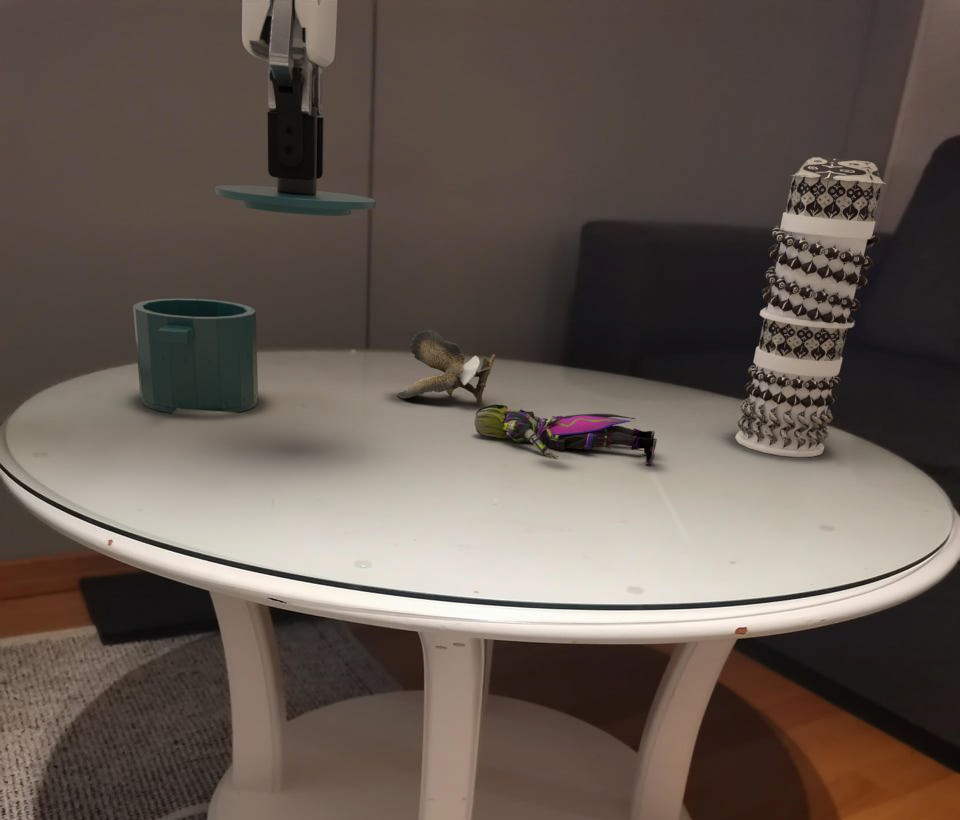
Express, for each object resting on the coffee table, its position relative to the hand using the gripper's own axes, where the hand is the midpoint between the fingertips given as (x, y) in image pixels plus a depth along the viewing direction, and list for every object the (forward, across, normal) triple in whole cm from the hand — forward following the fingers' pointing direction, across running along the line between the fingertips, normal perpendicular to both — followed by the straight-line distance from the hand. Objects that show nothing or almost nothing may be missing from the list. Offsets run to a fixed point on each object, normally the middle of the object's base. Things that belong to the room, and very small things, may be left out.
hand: (296, 175), depth 70 cm
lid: (+2, 0, 0) cm, 2 cm away
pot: (+21, -15, -12) cm, 28 cm away
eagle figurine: (+21, -24, +11) cm, 33 cm away
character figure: (+21, -8, +22) cm, 32 cm away
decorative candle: (+21, -16, +44) cm, 51 cm away
